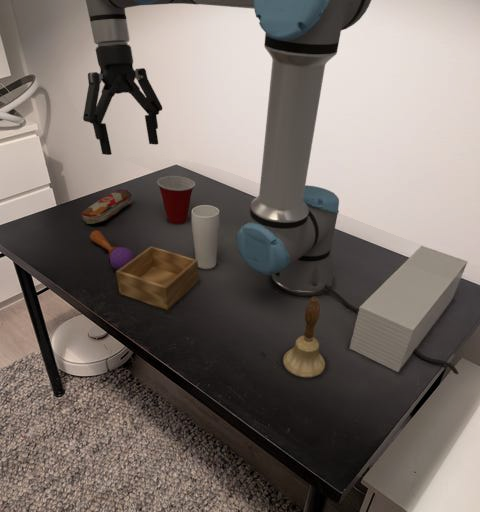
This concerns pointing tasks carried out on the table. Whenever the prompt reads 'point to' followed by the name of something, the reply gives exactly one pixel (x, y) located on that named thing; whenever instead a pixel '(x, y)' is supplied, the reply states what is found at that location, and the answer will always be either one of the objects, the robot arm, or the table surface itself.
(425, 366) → the table surface
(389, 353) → the stack of papers
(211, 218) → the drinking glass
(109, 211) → the pencil case
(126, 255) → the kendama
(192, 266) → the bin
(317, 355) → the hand bell
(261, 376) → the table surface
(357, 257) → the table surface
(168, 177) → the plastic cup
